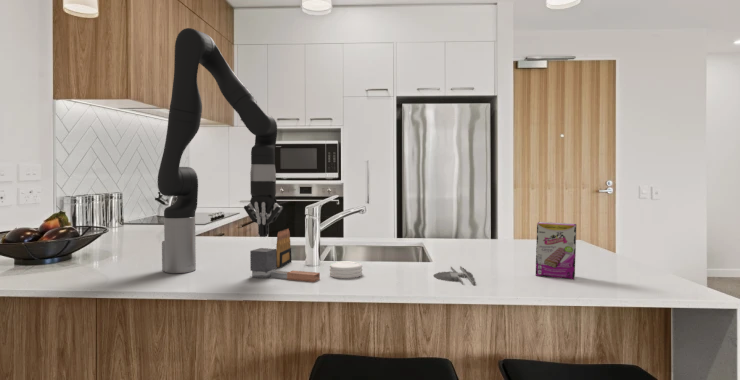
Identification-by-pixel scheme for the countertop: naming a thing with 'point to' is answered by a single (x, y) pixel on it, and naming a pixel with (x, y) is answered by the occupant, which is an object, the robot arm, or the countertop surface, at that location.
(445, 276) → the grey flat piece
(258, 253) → the socket
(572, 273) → the candy bar box
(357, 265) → the coaster
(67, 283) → the countertop surface
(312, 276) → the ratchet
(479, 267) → the countertop surface
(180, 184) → the robot arm
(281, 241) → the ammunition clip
